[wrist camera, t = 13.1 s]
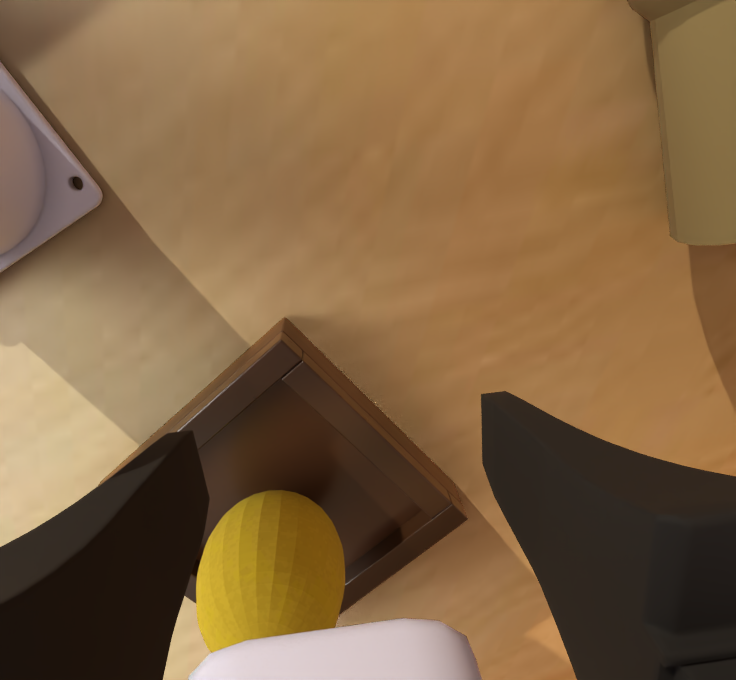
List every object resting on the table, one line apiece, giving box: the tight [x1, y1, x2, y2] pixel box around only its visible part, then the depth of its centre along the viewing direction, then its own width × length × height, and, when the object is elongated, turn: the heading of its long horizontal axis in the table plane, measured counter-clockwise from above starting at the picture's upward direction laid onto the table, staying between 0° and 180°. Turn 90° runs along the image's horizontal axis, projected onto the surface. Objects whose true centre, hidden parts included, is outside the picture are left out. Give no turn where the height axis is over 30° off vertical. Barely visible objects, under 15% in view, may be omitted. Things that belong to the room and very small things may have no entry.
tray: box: [98, 317, 468, 615], centre depth 24 cm, size 12×12×3 cm
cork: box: [627, 0, 736, 245], centre depth 18 cm, size 6×6×11 cm
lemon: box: [196, 490, 345, 653], centre depth 20 cm, size 6×6×8 cm
